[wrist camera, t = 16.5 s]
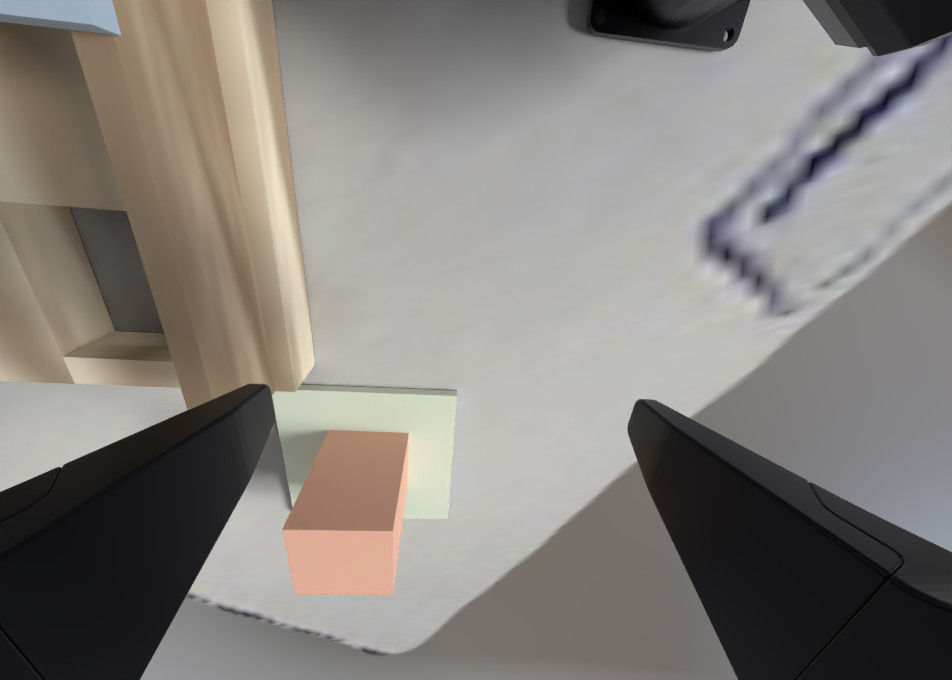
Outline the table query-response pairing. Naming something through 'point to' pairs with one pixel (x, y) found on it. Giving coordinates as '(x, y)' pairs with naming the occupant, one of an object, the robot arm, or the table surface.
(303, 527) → the block
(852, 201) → the table surface
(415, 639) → the table surface
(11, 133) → the open storage box
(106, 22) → the cover
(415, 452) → the sage mat
